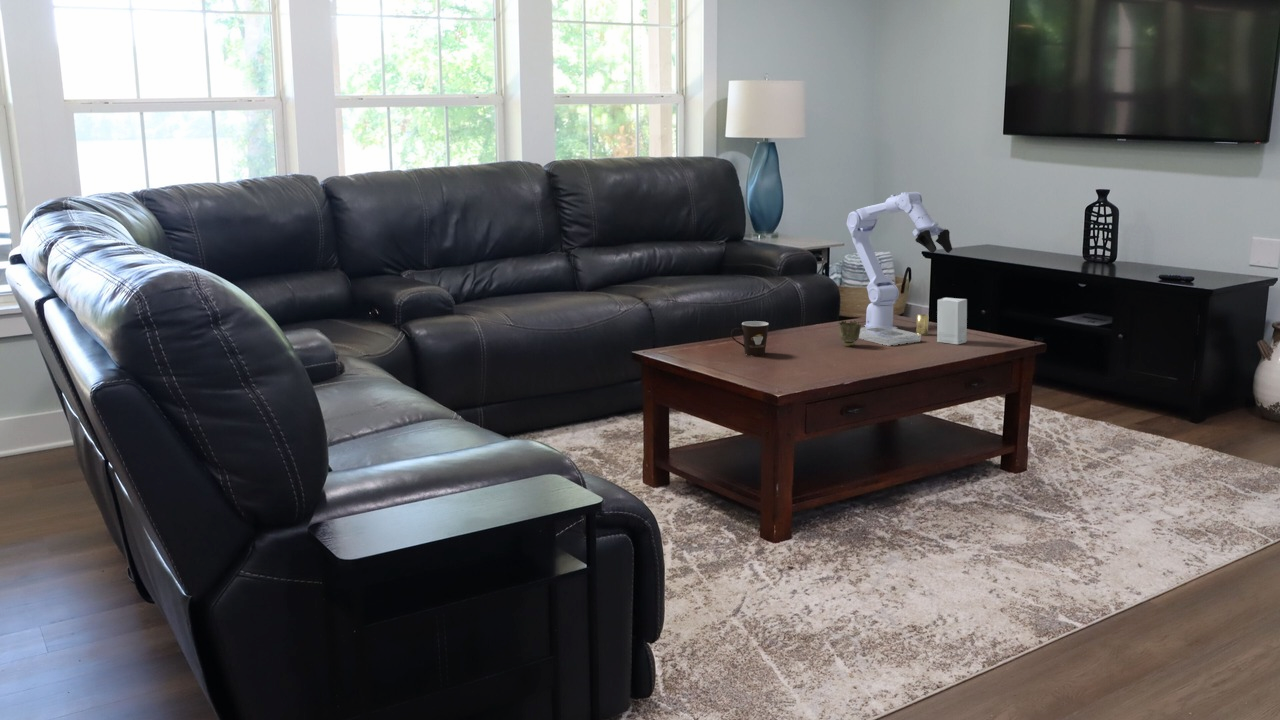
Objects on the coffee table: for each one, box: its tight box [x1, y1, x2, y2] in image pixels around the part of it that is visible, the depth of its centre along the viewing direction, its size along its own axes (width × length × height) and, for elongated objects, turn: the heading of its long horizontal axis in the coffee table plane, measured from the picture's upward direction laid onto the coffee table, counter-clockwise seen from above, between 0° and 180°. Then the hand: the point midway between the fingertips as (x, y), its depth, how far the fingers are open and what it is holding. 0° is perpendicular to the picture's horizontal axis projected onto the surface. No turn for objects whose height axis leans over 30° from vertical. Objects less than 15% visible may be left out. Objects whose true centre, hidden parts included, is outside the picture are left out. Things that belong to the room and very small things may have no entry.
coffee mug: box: [730, 320, 769, 357], centre depth 353 cm, size 12×9×10 cm
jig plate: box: [858, 325, 922, 347], centre depth 375 cm, size 20×14×2 cm
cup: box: [838, 320, 862, 348], centre depth 364 cm, size 8×7×8 cm
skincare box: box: [936, 297, 968, 345], centre depth 367 cm, size 8×6×15 cm
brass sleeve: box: [915, 313, 930, 337], centre depth 381 cm, size 4×4×7 cm
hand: (942, 251), depth 364 cm, fingers open, 7 cm apart
